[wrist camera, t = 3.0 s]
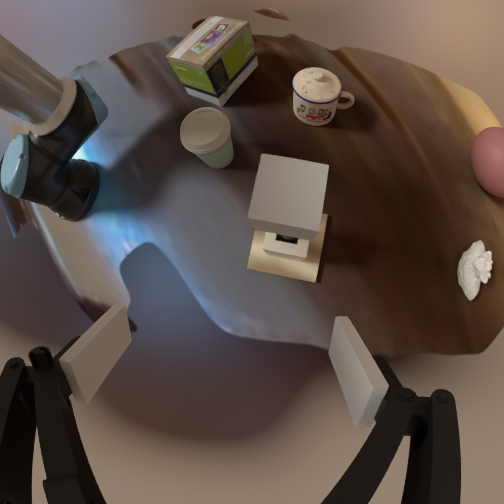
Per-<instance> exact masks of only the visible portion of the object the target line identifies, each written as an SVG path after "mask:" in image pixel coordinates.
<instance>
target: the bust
mask: <svg viewBox="0 0 504 504" xmlns="http://www.w3.org/2000/svg"><path fill="white" fill-rule="evenodd" d="M491 255H492V253H491V252H490V251H488V252H487V251H486V252H485V246H484V244H483V242H482V241H481V240H479V241H477V242H474V243H473V244H472V246H471V247H470V248H469V249H468V250H467V251H465V252H464V253H463V255H462V258H461V259H460V261H459V264H458V271H457V275H458V283H459V285H460V286H461V287H462V289H463V291H464V293H465V296H466V297H467V298H468V299H469V300H473V299H474V298H475V297H476V295H477V294H478V292H479V289H480V281H482V282H483V283H487V281H488V278H491V274H490V273H489V272H490V270H491V269H492V263H493V261H492V260H491Z"/></svg>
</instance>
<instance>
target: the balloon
mask: <svg viewBox="0 0 504 504" xmlns="http://www.w3.org/2000/svg"><path fill="white" fill-rule="evenodd" d="M471 166H472V170H473V172H474V175H475V177H476V179H477V181H478V182H479V184H480V185H481V186H482V187H483V188H484V189H485V190H486V191H487V192H488V193H490V194H492V195H494V196H496V197H500V198H504V128H500V127H489V128H486V129H484V130H483V131H481V132H480V133H479V134H478V135H477V136H476V138H475V139H474V142H473V144H472V148H471Z"/></svg>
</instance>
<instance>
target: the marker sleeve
mask: <svg viewBox="0 0 504 504" xmlns="http://www.w3.org/2000/svg"><path fill="white" fill-rule="evenodd" d="M279 239H280V234H275V233H270V232H266V233H265V238H264V242H263V247H262V249H263V251H264V252H265V253H266V254H267V255H271V256H276V257H281V258H286V259H291V260H296V261H301V262H302V261H303V260H304V259H305V258H306V256H307V251H308V246H309V240H305V239H300V238H298V239H297V244H292V243H287V242H282V241H279Z"/></svg>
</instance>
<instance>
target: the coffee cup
mask: <svg viewBox="0 0 504 504" xmlns="http://www.w3.org/2000/svg"><path fill="white" fill-rule="evenodd" d="M230 130H231V126H230V122H229V119H228V118H227V117H226V115H225V114H223V113H222V112H221V111H219V110H217V109H215V108H211V107H203V108H199V109H196V110H194V111H192V112H191V113H189V114H188V115H187V116H186V117H185V118H184V120H183V122H182V124H181V127H180V138H181V141H182V144H183V146H184V147H185V148H186V149H187V150H189V151H190V152H193V153H194V154H195V155H197V156H198V157H199V158H200V159H201V160H203V161H204V162H205V163H206V164H207V165H209V166H210V167H212V168H215V169H220V168H224V167H226V166H227V165H229V164H230V163H231V161H232V159H233V156H234V152H233V146H232V140H231V135H230Z"/></svg>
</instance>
